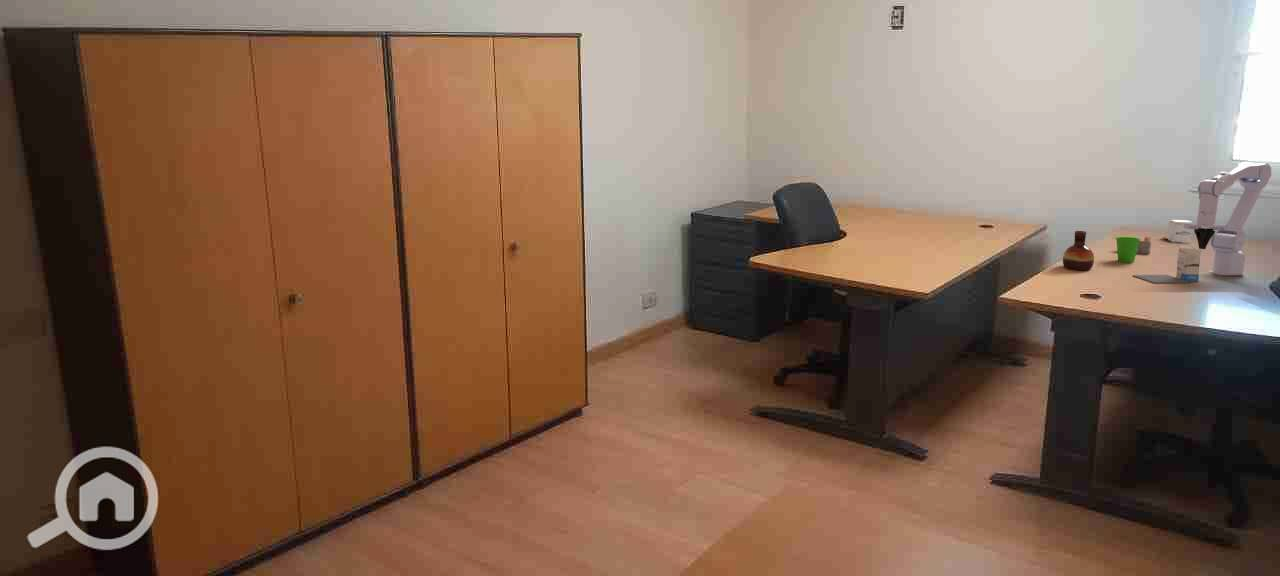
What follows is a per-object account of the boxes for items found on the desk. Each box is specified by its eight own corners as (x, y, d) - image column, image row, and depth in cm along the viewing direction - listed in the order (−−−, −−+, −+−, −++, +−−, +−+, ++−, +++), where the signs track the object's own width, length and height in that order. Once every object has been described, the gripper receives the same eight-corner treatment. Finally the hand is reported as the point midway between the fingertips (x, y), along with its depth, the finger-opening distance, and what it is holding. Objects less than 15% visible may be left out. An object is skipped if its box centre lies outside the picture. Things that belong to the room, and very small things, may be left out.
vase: (1096, 270, 356) (1100, 231, 353) (1087, 274, 348) (1091, 234, 345) (1067, 267, 364) (1070, 229, 361) (1057, 271, 356) (1060, 231, 353)
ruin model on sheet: (1149, 259, 383) (1151, 236, 381) (1148, 260, 381) (1151, 237, 379) (1119, 257, 389) (1121, 234, 387) (1118, 258, 387) (1120, 235, 385)
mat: (1167, 275, 343) (1167, 274, 343) (1190, 283, 329) (1190, 282, 329) (1132, 276, 344) (1132, 275, 344) (1154, 283, 329) (1154, 282, 329)
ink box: (1198, 281, 331) (1202, 249, 329) (1183, 281, 332) (1187, 249, 330) (1189, 277, 340) (1193, 246, 337) (1175, 277, 341) (1178, 246, 338)
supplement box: (1172, 249, 405) (1175, 221, 403) (1165, 247, 413) (1168, 219, 410) (1190, 250, 404) (1193, 221, 402) (1183, 247, 411) (1186, 219, 409)
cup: (1114, 266, 365) (1116, 239, 363) (1112, 262, 373) (1114, 236, 371) (1139, 267, 362) (1142, 240, 360) (1136, 263, 370) (1139, 237, 368)
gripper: (1220, 212, 341) (1215, 248, 343) (1181, 210, 341) (1176, 246, 344) (1232, 214, 334) (1226, 250, 336) (1192, 212, 334) (1186, 249, 337)
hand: (1202, 248), depth 340 cm, fingers closed
